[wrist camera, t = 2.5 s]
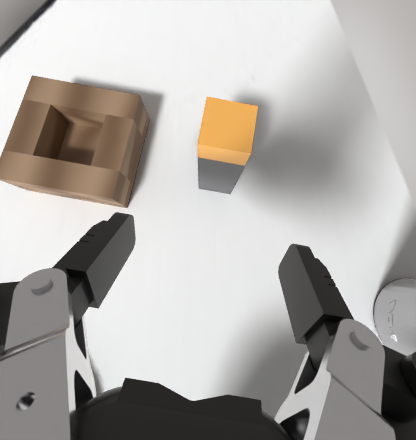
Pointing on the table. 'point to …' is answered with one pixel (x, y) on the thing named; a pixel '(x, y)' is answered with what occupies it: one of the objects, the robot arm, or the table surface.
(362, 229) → the table surface
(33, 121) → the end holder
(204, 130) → the connector plug
